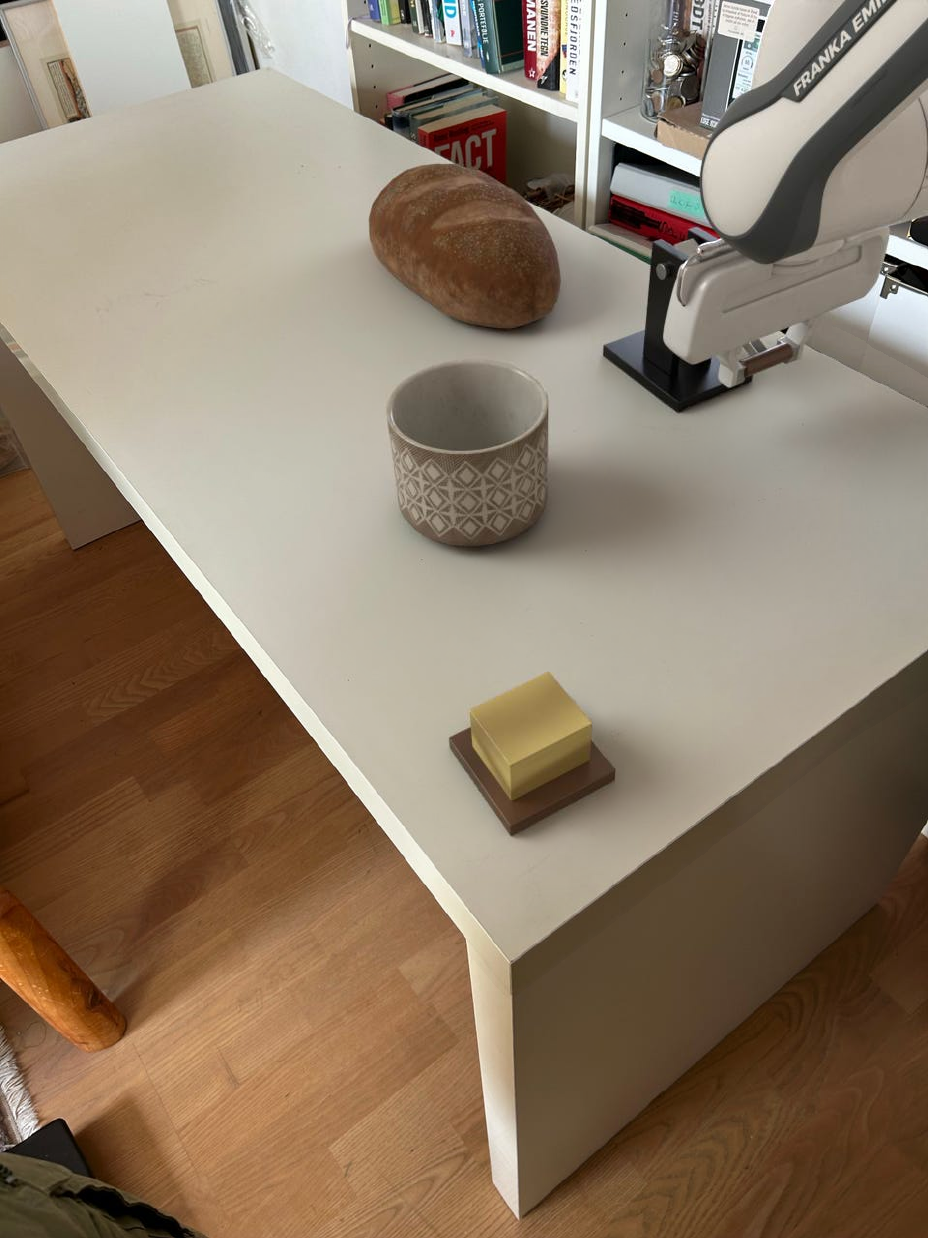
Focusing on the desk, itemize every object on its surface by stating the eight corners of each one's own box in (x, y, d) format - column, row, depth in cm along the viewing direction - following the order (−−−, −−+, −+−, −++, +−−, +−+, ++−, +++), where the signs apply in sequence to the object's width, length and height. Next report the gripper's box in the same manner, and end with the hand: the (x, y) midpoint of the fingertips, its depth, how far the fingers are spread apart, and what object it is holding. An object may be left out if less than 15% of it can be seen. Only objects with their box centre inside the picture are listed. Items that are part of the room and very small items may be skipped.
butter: (615, 780, 63) (620, 732, 59) (510, 836, 61) (508, 791, 57) (548, 698, 68) (549, 650, 64) (449, 747, 66) (443, 700, 62)
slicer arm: (786, 366, 85) (798, 348, 83) (741, 384, 83) (752, 366, 81) (696, 253, 89) (705, 233, 87) (652, 269, 88) (661, 249, 86)
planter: (440, 447, 88) (431, 346, 81) (569, 479, 84) (572, 376, 77) (373, 533, 81) (356, 431, 73) (512, 572, 77) (508, 469, 69)
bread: (472, 356, 99) (466, 249, 90) (342, 250, 116) (327, 153, 108) (594, 307, 104) (599, 202, 95) (452, 213, 121) (446, 117, 113)
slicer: (752, 382, 93) (775, 254, 83) (677, 413, 90) (692, 284, 81) (674, 328, 100) (687, 205, 91) (602, 355, 97) (608, 232, 88)
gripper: (709, 269, 69) (687, 428, 79) (917, 194, 75) (872, 350, 85) (655, 236, 73) (641, 391, 83) (857, 167, 79) (820, 319, 89)
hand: (759, 370), depth 84 cm, fingers closed on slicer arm, 5 cm apart
